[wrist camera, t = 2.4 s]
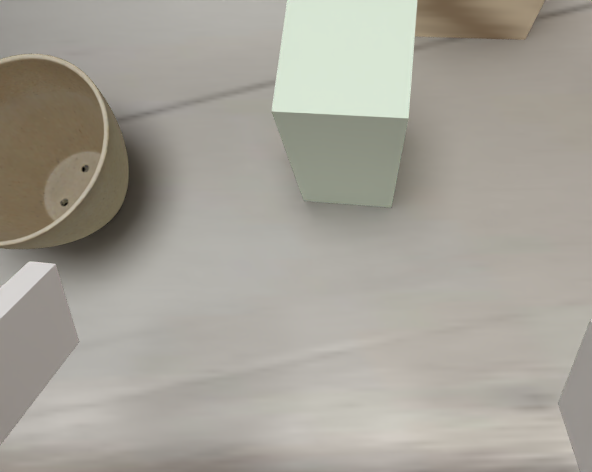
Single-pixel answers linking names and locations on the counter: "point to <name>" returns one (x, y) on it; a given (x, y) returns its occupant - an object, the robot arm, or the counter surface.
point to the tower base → (476, 18)
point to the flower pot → (56, 154)
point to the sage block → (345, 96)
